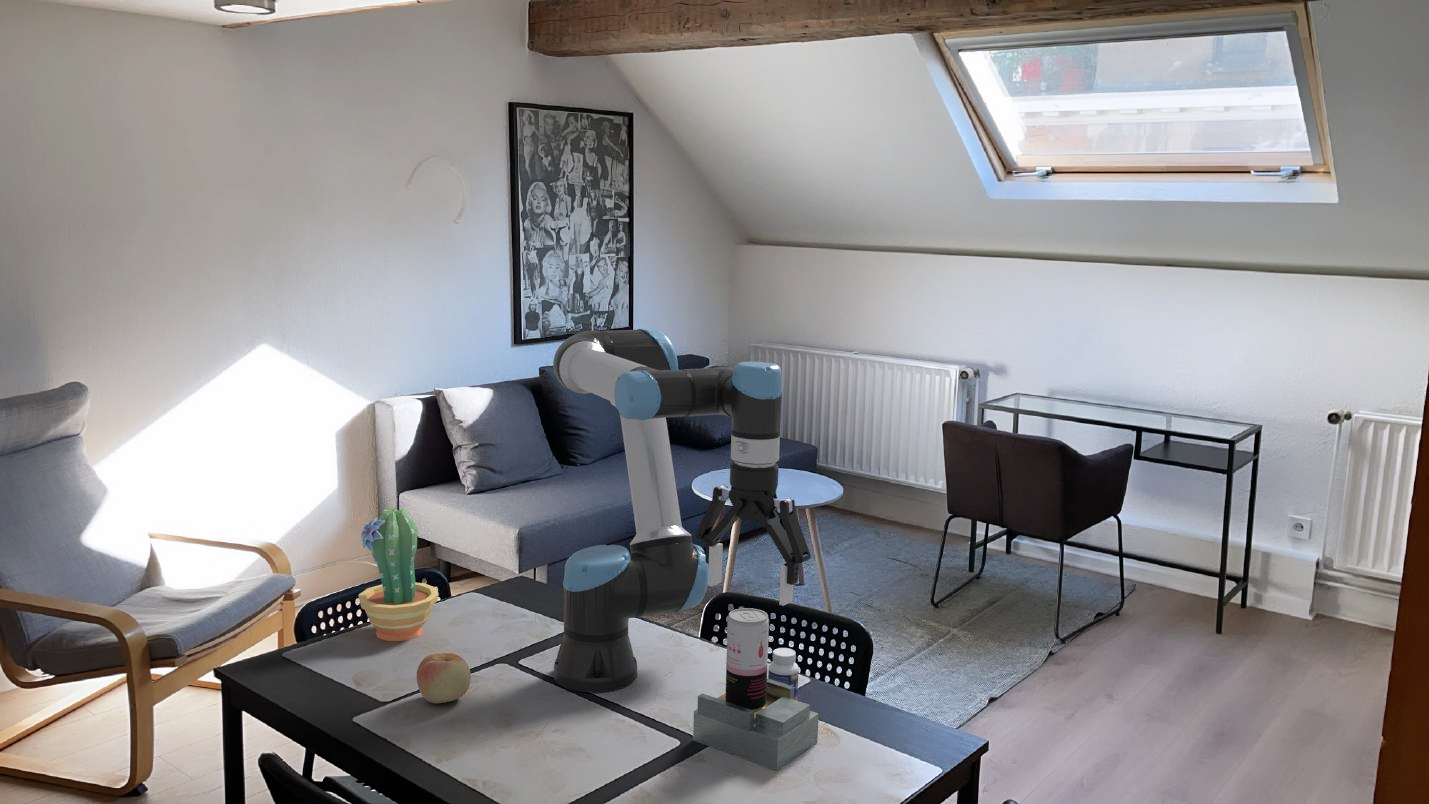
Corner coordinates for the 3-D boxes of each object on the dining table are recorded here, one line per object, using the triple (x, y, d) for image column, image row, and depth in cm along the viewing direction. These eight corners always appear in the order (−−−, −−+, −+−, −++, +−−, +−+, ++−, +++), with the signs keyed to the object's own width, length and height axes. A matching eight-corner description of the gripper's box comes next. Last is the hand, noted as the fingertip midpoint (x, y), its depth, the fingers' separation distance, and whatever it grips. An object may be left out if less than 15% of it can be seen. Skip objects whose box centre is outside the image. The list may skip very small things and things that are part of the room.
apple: (408, 700, 189) (407, 655, 187) (452, 685, 195) (451, 642, 194) (436, 716, 183) (436, 670, 182) (481, 700, 189) (481, 656, 188)
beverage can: (755, 692, 182) (758, 605, 179) (772, 709, 176) (776, 619, 173) (718, 698, 179) (721, 610, 177) (735, 715, 173) (738, 624, 171)
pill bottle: (795, 708, 190) (797, 659, 188) (765, 704, 191) (766, 656, 189) (799, 695, 195) (801, 648, 193) (769, 692, 196) (771, 644, 194)
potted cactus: (367, 619, 226) (364, 500, 221) (444, 618, 227) (442, 500, 223) (351, 648, 210) (347, 521, 206) (433, 647, 212) (432, 521, 208)
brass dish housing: (691, 741, 177) (692, 694, 175) (737, 714, 187) (738, 669, 186) (775, 772, 167) (777, 722, 166) (818, 741, 178) (820, 694, 176)
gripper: (676, 454, 175) (672, 582, 179) (811, 479, 161) (804, 618, 164) (704, 447, 181) (700, 571, 185) (836, 470, 167) (830, 604, 170)
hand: (749, 593), depth 174 cm, fingers open, 13 cm apart
